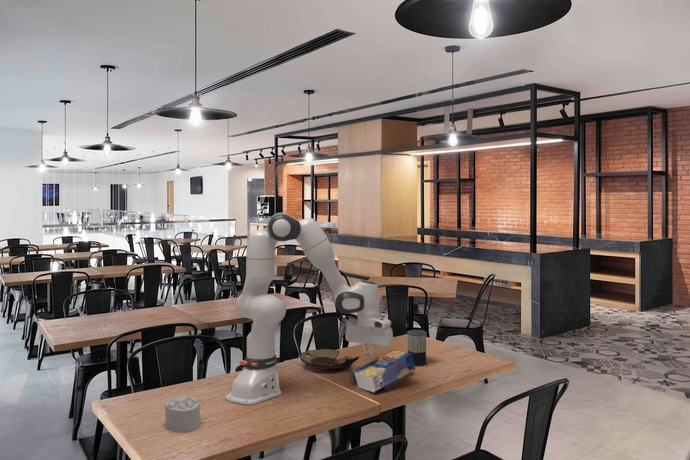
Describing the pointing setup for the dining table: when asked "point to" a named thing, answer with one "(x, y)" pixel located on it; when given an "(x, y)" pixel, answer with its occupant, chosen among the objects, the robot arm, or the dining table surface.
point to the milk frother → (417, 346)
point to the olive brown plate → (326, 359)
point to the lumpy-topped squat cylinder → (182, 414)
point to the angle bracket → (352, 374)
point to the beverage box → (384, 371)
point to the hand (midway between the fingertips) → (368, 354)
